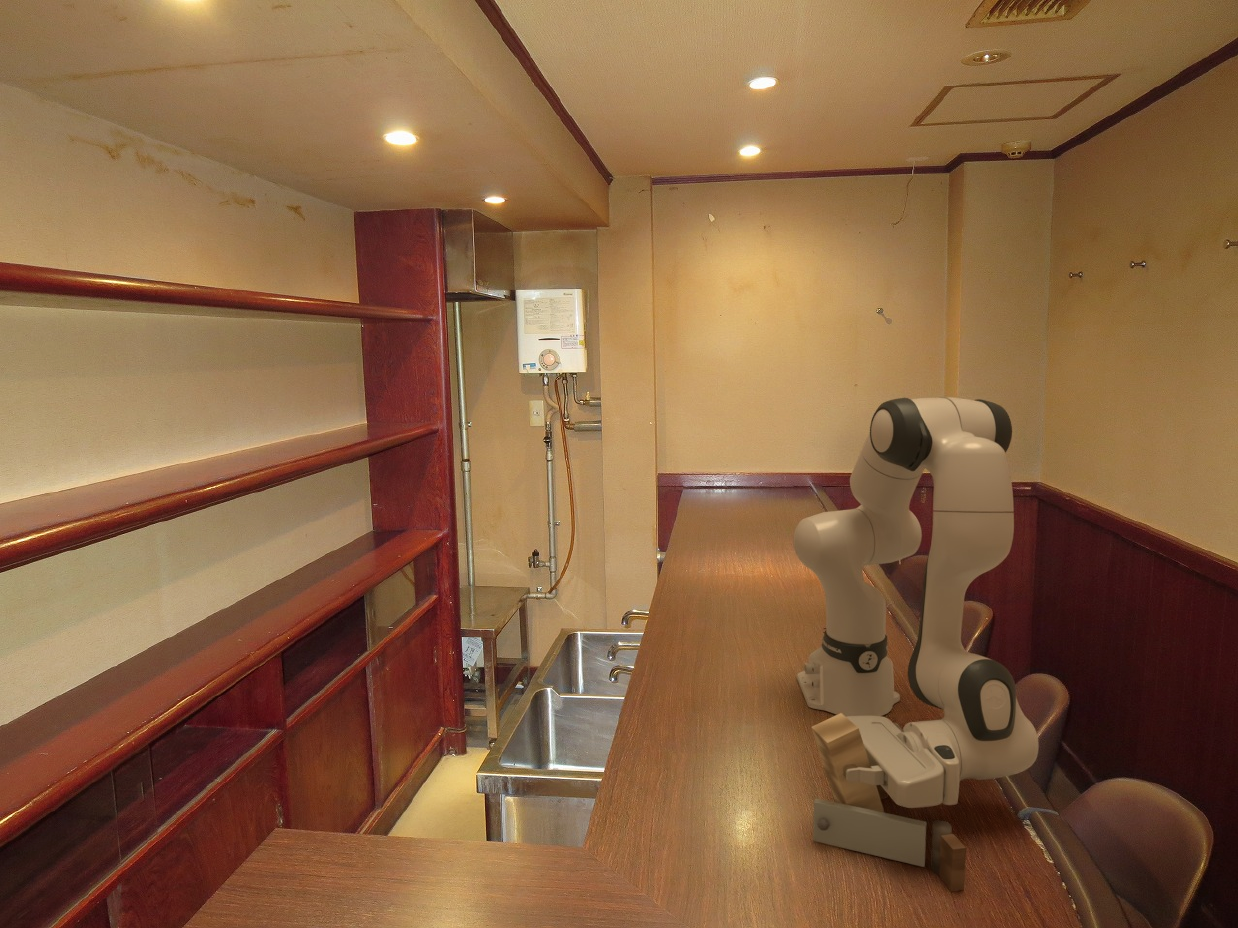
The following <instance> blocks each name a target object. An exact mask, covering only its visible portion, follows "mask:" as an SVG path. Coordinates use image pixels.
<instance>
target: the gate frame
mask: <svg viewBox="0 0 1238 928" xmlns="http://www.w3.org/2000/svg"><path fill="white" fill-rule="evenodd" d="M876 786H877V790H878V793H879V796H880V799H881V800H882V799H888V796H889V795H888V793H887V792H886V791H885V790H884V789H883V788H882V786H881V785H876ZM931 826H932V827H931V828H932V830H931V852H930V853H931V854H930V856H931V857H930V870H931V871H932V872H933V873H934V874H936V875H938V876H939V878H940V879H941V881H942V882H943V883H944V884H945V886H946V887H947V888H948V889H949V891H950V892H957V891H964V890H965V879H966V878H965V876H966V859H967V857H966V853H967V847H966V846H965V845H964V844H963V842H961V841H960V840H959V838H958V837H957V836H956V835H955V834H954V833H952V832H953V831H952V828H953V827H952V825H951V824H950V822H947V821H944V820H942V819H941V820H940V819H939V820H934V821H933V822H932V825H931Z"/></svg>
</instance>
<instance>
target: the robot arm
mask: <svg viewBox="0 0 1238 928" xmlns="http://www.w3.org/2000/svg"><path fill="white" fill-rule="evenodd" d="M1012 425H1013V424H1012V422H1011V418H1010V416H1009V414H1008V412H1007V410H1006V409H1005V408H1004V407H1003V406H1002V405H1000V404H998V403H995V402H993V401H990V400H986V399H985V400H984V399H980V398H977V399H974V400H973V399H968V398H961V397H953V396H951V397H950V396H939V397H921V398H920V397H917V398H909V397H900V398H899V397H898V398H894V399H890V400H886V401H885V402H882V403H881V404H880V405H879V406H878V407H877V409H876V410H875V411H874V413H873V415H872V417H871V421H870V425H869V426H870V427H869V433H868V435H867V437H866V439H865V441H864V444H863V446H862V448H861V449H860V452H859V455H858V458H857V460H856V463H855V464H854V467H853V469H852V472H851V475H850V476H849V477H850V478H849V486H850V491H851V493H852V495H853V497H854V498H855V500H856V501H857V502H858V503H859V504H860V505H859V506H858V507H856V508H851V509H843V510H831V511H823V512H820V513H816V514H814V515H811V516H808V517H805V518H802V519H801V520H800V521H799V522H797V523H798V524H797V525H796V527H795V529H794V532H793V537H792V540H793V541H792V542H793V549H794V553H795V555H796V556H797V558H798V560H799V561H800V562H801V564H802V565H804V566H805V567H807V568H808V569H809V570H811V572H813V573H814V574H815V576H816V577H817V578H818V580H819V582H820V584H821V586H822V589H823V592H824V593H823V594H824V597H825V615H826V617H825V618H826V626H825V627H824V628H823V630H825V631H823V632H822V633H823V636H822V639H821V640H822V641H821V646H820V647H818V648H817V649H815V650H814V651H812V652H811V653H810V654H809V656H808V662H805V663H804V667H803V669H804V670H802V671H799V672H797V676H796V680H797V682H798V684H799V687H800V690H801V693H802V695H803V697H804V699H805V702H806V704H807V707H809V708H810V709H815V710H819V711H820V710H821V711H826V712H829V713H831V714H834V715H838V714H840V713H842V714H843V715H844V716H845V717H846V718H848V719H849V720H850V721H851V722H852V723H853V724H854V725H856V726H857V727H858V728H859V731H860V734H861V737H862V741H863V744H864V747H865V750H866V754H867V757H868V760H869V763H870V767H871V768H862V767H857V766H856V765H855V764H854V765H846V766H844V768H843V771H844V772H843V775H844V777H845V778H846V779H847V781H848V782H859V781H860V782H863V783H867V784H871V785H881V786H882V788H883V789H884V790H885V791H886V792H887V793H888V796H889V797H890V799H892V801H893V802H894V803H895V804H896V805H897V806H899V807H900V806H901V807H903V808H908V809H917V808H927V807H928V808H929V807H934V806H935V807H936V806H938V805H941V804H943V805H944V806H954V805H957V804H958V803H959V802H958V801H959V794H960V793H959V792H960V782H961V781H964V780H968V779H972V780H976V781H983V780H984V781H985V780H992V779H999V778H1005V777H1009V776H1014V775H1016V774H1021V773H1022V772H1024V771H1026V770H1028V769H1029V768H1030V767H1032V766H1033V765H1034V763H1035V762H1036V761H1037V758H1038V754H1039V738H1038V732H1037V730H1036V727H1034V724H1033V723H1032V722H1031V721H1030V719H1028V718H1027V717H1026V715H1025V714H1024V712H1023V711H1022V708H1021V707H1020V704H1019V700H1018V698H1017V688H1016V683H1015V680H1014V678H1013V675H1012V674H1011V672H1010V670H1008V668H1006V666H1004V665H1003V664H1002V663H1000V662H999V661H996V660H994V659H991V658H988V657H986V656H983V655H980V654H977V653H971V652H969V651H967V650H965V648H964V646H963V644H962V627H963V617H964V608H965V607H964V604H965V596H966V592H967V589H968V588H969V586H970V584H971V583H972V582H973V581H974V580H975V579H977V577H979V576H981V575H982V574H985V573H986V572H989V571H991V570H993V569H995V568H996V567H997V566H999V565H1000V564H1001V563H1003V561H1005V559H1006V558H1007V556H1008V555H1009V554H1010V551H1011V548H1012V544H1013V541H1014V533H1015V532H1014V529H1015V519H1014V518H1015V517H1014V515H1015V514H1014V510H1015V509H1014V493H1013V484H1012V476H1011V471H1010V465H1009V461H1008V456H1007V454H1006V453H1007V452H1008V450H1009V448H1010V444H1011V441H1012V437H1013V426H1012ZM925 469H926V470H927V471H928V472H929V474H930V475H931V477H932V480H933V498H932V500H933V501H932V502H933V505H932V534H931V544H930V549H929V553H928V555H927V558H926V563H925V569H924V574H923V583H922V594H921V606H920V614H919V615H920V616H919V624H918V625H919V626H918V627H919V628H918V635H917V640H916V642H915V643H916V644H915V646H914V649H913V652H912V654H911V656H910V658H909V662H908V666H907V681H908V684H909V687H910V689H911V691H912V692H913V694H914V695H915V697H917V699H918V700H920V701H921V702H922V703H923V704H925V705H928V706H931V707H932V708H933V707H934V708H937V709H940V710H942V711H944V712H943V713H944V716H943V717H942V718H940V719H935V720H922V721H921V720H920V721H912V722H911V721H910V722H907V723H906V724H904V726H903V729H902V728H901V726H900V725H899V724H898V723H897V722H893V721H891V719H889V718H887V717H885V715H886V714H889V712H891V711H892V709H893V706H894V705H895V704H896V703H898V702H900V700H901V695H900V694H899V692H897V691H895V681H894V664H893V661H892V659H890V658H889V657H888V649H889V642H888V636H887V634H886V624H887V623H886V618H887V602H886V598H885V596H884V595H883V593H882V591H880V590H879V589H878V588H877V587H875V586H874V585H872V584H870V583H868V582H866V581H865V579H864V574H863V573H864V572H863V569H864V566H865V567H867V566H873V565H874V566H875V565H881V564H891V563H895V562H897V561H900V560H903V559H906V558H908V557H911V556H914V554H916V553H917V551H918V550H919V548H920V546H921V542H922V538H923V537H922V536H923V533H922V527H921V524H920V522H919V520H918V518H917V517H916V515H915V514H914V513H913V512H912V511H911V510H910V504H911V500H912V498H913V495H914V492H915V490H916V488H917V486H918V484H919V482H920V479H921V478H922V475H923V473H924V471H925Z"/></svg>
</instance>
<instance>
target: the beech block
mask: <svg viewBox="0 0 1238 928" xmlns="http://www.w3.org/2000/svg"><path fill="white" fill-rule="evenodd" d="M811 731H812V734H813V737H814V740H815V745H816V747H817V750H818V753H819V755H820V759H821V763H822V765H823V768H824V772H825V775H826V778H827V781H828V784H829V787H830V790H831V793H832V797H833V800H834V802H837V803H841V804H846V805H851V806H855V807H860V808H865V809H869V810H874V811H879V812H883V813H885V810H884V806H883V803H882V799H880V796H879V793H878V790H877V786H876V785H871V784H867V783H863V782H860V781H859V782H848V781H847V779H846V778H845V777H844V775H843V772H844V771H843V768H844V766H846V765H854V764H855V765H856V766H857V767H862V768H871V767H870V763H869V760H868V757H867V754H866V750H865V747H864V744H863V741H862V737H861V734H860V731H859V728H858V727H857V726H856V725H854V724H853V723H852V722H851V721H850V720H849V719H848V718H846V717H845V716H844V715H843V714H842V713H840V714H838V715H837V714H835V715H833V716H831V717H829V718H828V719H825V720H823V721H821V722H819V723H816V724H815V725H813V726H811Z"/></svg>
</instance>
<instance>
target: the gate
mask: <svg viewBox="0 0 1238 928" xmlns="http://www.w3.org/2000/svg"><path fill="white" fill-rule="evenodd" d="M812 840H813V842H817V843H822V844H825V845H829V846H834V847H836V848H837V847H838V848H843V849H846V850H849V851H850V850H851V851H855V852H858V853H864V854H867V855H872V856H877V857H880V858H884V859H888V860H892V861H897V862H902V863H906V864H909V865H913V866H918V867H921V868H925V865H926V848H927V847H926V845H927V821H925V820H919V819H914V818H909V817H906V816H901V815H896V814H891V813H887V812H879V811H874V810H869V809H865V808H860V807H855V806H851V805H846V804H841V803H837V802H835V801H831V800H828V799H822V798H819V797H815V799H814V802H813V839H812Z"/></svg>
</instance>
